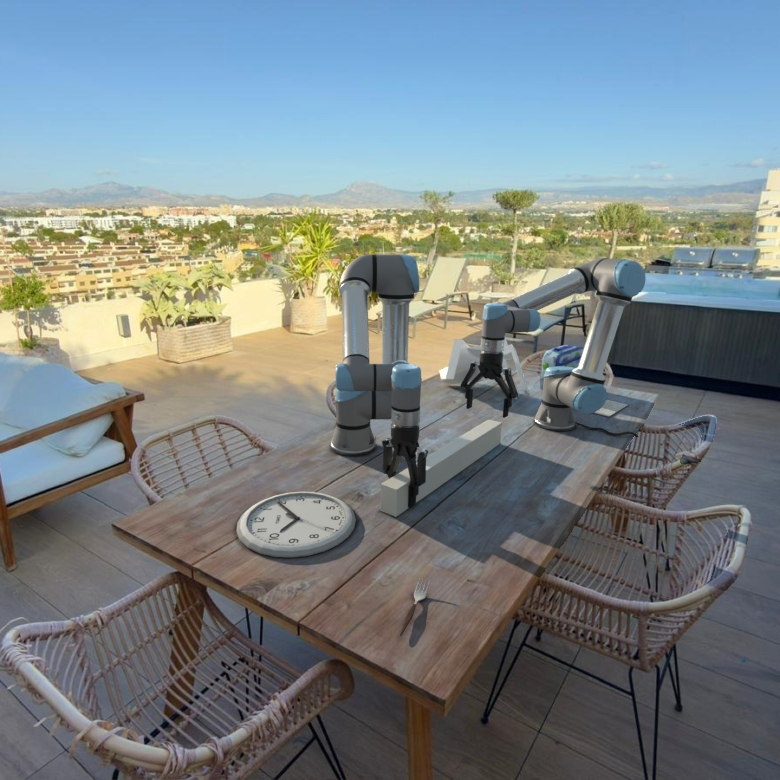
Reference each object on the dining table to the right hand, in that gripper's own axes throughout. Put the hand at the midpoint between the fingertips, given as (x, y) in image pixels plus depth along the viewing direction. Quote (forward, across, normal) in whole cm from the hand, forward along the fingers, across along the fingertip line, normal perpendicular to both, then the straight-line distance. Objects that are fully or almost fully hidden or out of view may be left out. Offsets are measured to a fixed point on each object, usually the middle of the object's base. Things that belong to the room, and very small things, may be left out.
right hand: (486, 412), depth 178 cm
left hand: (+13, 0, -49) cm, 50 cm away
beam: (+13, 0, -24) cm, 28 cm away
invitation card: (+13, +19, +72) cm, 76 cm away
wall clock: (+14, -16, -74) cm, 76 cm away
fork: (+14, +26, -82) cm, 87 cm away
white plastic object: (+13, -31, +57) cm, 66 cm away
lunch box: (+13, -4, +86) cm, 87 cm away
